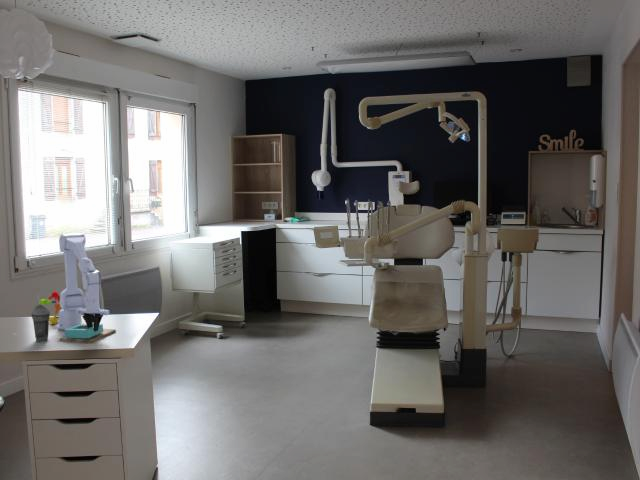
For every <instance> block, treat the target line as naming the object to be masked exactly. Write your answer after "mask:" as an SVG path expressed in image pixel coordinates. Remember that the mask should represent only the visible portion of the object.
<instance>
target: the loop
mask: <svg viewBox="0 0 640 480" xmlns="http://www.w3.org/2000/svg"><path fill="white" fill-rule="evenodd" d="M81 325H87V324H86V323H82V324H79V325H76V326H74V327H71V328H68V329H66V330H64V333H65V334H64V336H65V337H66V338H90V337H93V336H95V335H97V334H100V333H102V332H103V329H104V325H103V323H100V324H99V328H98V331H94V325H93V326H92V327H90V328H88V327H87V329H82V327H81Z"/></svg>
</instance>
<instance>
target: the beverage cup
mask: <svg viewBox="0 0 640 480" xmlns="http://www.w3.org/2000/svg"><path fill="white" fill-rule="evenodd" d="M40 300H41V299H40V293H38V294H37V301H38V303H37V305H35V306H34V307H33V309H32V311H31V314H30V315H31V318H32V322H33V323H32V324H33V329H34V330H33V331H34V336H35V338H34V339H35V341H36V343H45V342H47V341H49V326H50V325H49V324H50V321H49V317H51V316H50V315H51V312H50V309H49V307H47V306H46V305H40Z"/></svg>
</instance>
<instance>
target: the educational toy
mask: <svg viewBox="0 0 640 480" xmlns="http://www.w3.org/2000/svg"><path fill="white" fill-rule="evenodd" d="M52 299H55V300H52ZM39 300H40V305H45V306H46V305H47V304H54V308H55V312H54V315H53V316H50V317H49V323H50V324H51V325H57V324H58V322H59V318H58V314H59V311H60V310H61V309H62V308H61V307H60V293H59V292H58V291H53V292H52V293H51V296H49V297H47V298H46V299H44V298H42V299H39Z"/></svg>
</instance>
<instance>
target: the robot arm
mask: <svg viewBox="0 0 640 480" xmlns="http://www.w3.org/2000/svg"><path fill="white" fill-rule="evenodd" d="M58 240H59V241H58V245H59V251H60V253H61V252H62V253H63V258H64V259H63V260H64V261H63V262H64V272H65V275H64V276H65V288H64V289H63V290H62V291H61V292H60V293H59V296H60V307H61V308H62V309H61V310H60V309H59V311H58V314H57V317H58V318H59V320H58V327H57V330H64V331H65V330H66V329H68V328H71V327H74V326H76V325H79V324H83V323H82V322H83V321H82V319H83V320H84V322H85V324H87V327H88V328H90V327H92V326H93V325H94V331H98V328H99V324H101V321H102V319H103V317H104V316H109V315H110V310H109V309H104V308H100V306H101V305H100V284H101V282H102V275H101V273H100V270H98V269H96V268H95V266H94V263H93V261H92V259H91V258H88V255H87V253H86V249H85V247H86V236H85V234H84V233H83V232H78V233H65V234H64V233H62V234H60V236H59V239H58ZM77 260H78V263H77ZM77 265H78V268H79V271H80V273H81V281H82V285H83V286H82V287H83V290H84V291H83V290H82V289H81V288H79V287H78V273H77V270H78V269H77ZM84 307H85V308H84ZM82 314H83V315H82Z"/></svg>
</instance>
